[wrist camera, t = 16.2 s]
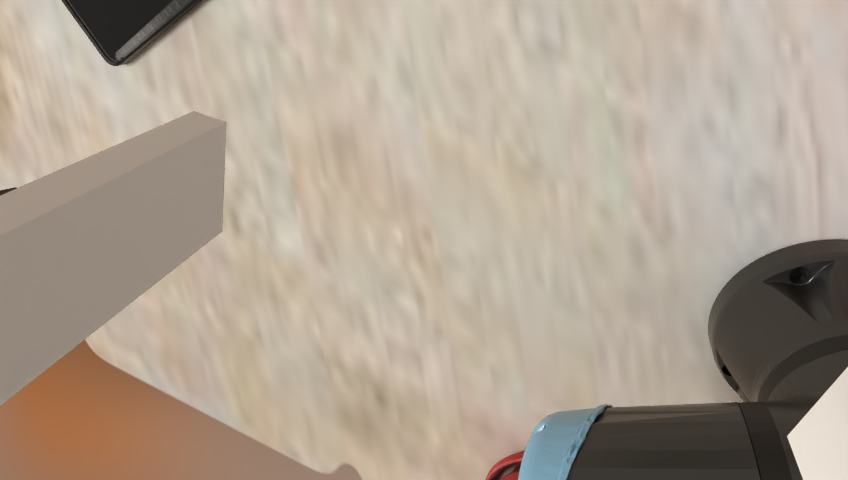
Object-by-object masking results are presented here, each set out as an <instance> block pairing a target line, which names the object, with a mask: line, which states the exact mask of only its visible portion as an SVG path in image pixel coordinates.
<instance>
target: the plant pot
mask: <svg viewBox="0 0 848 480" xmlns="http://www.w3.org/2000/svg"><path fill="white" fill-rule="evenodd" d="M523 455H524V452H523V453H517V454H513V455H510V456H508V457H506V458H504V459H502V460H501V461H499V462H498V463H496V464H495V465H494V466H493V468H492V469H491V470H490V472H489V473H488V475H487V478H486V480H518V477H519V472H520V467H521V462H522V459H523Z"/></svg>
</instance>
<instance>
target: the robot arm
mask: <svg viewBox="0 0 848 480" xmlns="http://www.w3.org/2000/svg"><path fill="white" fill-rule="evenodd" d="M225 144H226V122H224V121H221V120H218V119H215V118H212V117H209V116H206V115H203V114H200V113H197V112H191V113H189V114H187V115H184V116H182V117H180V118H177V119H175V120H173V121H171V122H168V123H166V124H164V125H161V126H159V127H157V128H154V129H152V130H150V131H148V132H145V133H143V134H141V135H138V136H136V137H134V138H131V139H129V140H127V141H125V142H122V143H120V144H118V145H115V146H113V147H111V148H109V149H106V150H104V151H102V152H99V153H97V154H95V155H92V156H90V157H88V158H86V159H83V160H81V161H79V162H76V163H74V164H72V165H69V166H67V167H65V168H63V169H60V170H58V171H56V172H53V173H51V174H49V175H46V176H44V177H42V178H40V179H37V180H35V181H33V182H30V183H28V184H26V185H24V186H21V187H19V188H16V187H15V188H10V189H6V190H1V191H0V405H1V404H3V403H4V402H5V401H6V400H8V399H9V398H10V397H12V396H13V395H14V394H16V393H17V392H18V391H19V390H21V389H22V388H23V387H24V386H26V385H27V384H28V383H30V382H31V381H32V380H33V379H35V378H36V377H37V376H38V375H40V374H41V373H42V372H44V371H45V370H46V369H47V368H49V367H50V366H51V365H53V364H54V363H55V362H56V361H58V360H59V359H60V358H61V357H63V356H64V355H65V354H67V353H68V352H69V351H70V350H72V349H73V348H74V347H75V346H77V345H78V344H79V343H80V342H82V341H83V340H84V339H86V338H87V337H88V336H90V335H91V334H92V333H93V332H95V331H96V330H97V329H98V328H100V327H101V326H102V325H104V324H105V323H106V322H107V321H109V320H110V319H111V318H112V317H114V316H115V315H116V314H118V313H119V312H120V311H121V310H123V309H124V308H125V307H126V306H128V305H129V304H130V303H132V302H133V301H134V300H135V299H137V298H138V297H139V296H140V295H142V294H143V293H144V292H146V291H147V290H148V289H149V288H151V287H152V286H153V285H155V284H156V283H157V282H158V281H160V280H161V279H162V278H163V277H165V276H166V275H167V274H169V273H170V272H171V271H172V270H174V269H175V268H176V267H177V266H179V265H180V264H181V263H183V262H184V261H185V260H186V259H188V258H189V257H190V256H191V255H193V254H194V253H195V252H197V251H198V250H199V249H200V248H202V247H203V246H204V245H205V244H207V243H208V242H209V241H211V240H212V239H213V238H214V237H216V236H217V235H218V234H220V233H221V232H222V223H223V196H224V170H225ZM708 333H709V340H710V344H711V348H712V351H713V355H714V359H715V361H716V364H717V366H718V368H719V370H720V372H721V374H722V375H723V377H724V378H725V380H726V381H727V382H728V384H729V385H730V386H731V387H732V388H733V389H734V390H735V391H736V392H737V393H738V395H739V396H740V397H741V398H742V399H743V401H744V402H742V403H738V402H735V403H710V404H685V405H661V406H636V407H612V405H606V404H605V405H600V406H598V407H597V408H594V409H583V410H573V411H562V412H556V413H553V414H551V415H549V416H547V417H546V418H544V419H543V420H542V421H541V422H540V423H539V424H538V425H537V427H536V428H535V429H534V431H533V433H532V435H531V438H530V440H529V441H528V443H527V446H526V449H525V452H524V455H523V459H522V462H521V467H520V472H519V477H518V480H848V240H823V241H813V242H807V243H801V244H797V245H793V246H789V247H786V248H783V249H780V250H777V251H774V252H772V253H770V254H767V255H765V256H763V257H761V258H759V259H757V260H756V261H754V262H752V263H751V264H749V265H748V266H746V267H745V268H743V269H742V270H741V271H739V272H738V273H737V274H736V275H735V276H734V277H733V278H732V279H731V280H730V281H729V282H728V283H727V284H726V285H725V286H724V288H723V289H722V290H721V292H720V293H719V295H718V296H717V298H716V300H715V302H714V304H713V307H712V309H711V313H710V317H709V324H708Z"/></svg>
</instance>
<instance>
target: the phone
mask: <svg viewBox="0 0 848 480" xmlns="http://www.w3.org/2000/svg"><path fill="white" fill-rule="evenodd" d="M201 1H202V0H62V2H63V3H64V5H65V6H66V7H67V9H68V10H69V11H70V13H71V14H72V16H73V17H74V18H75V20H76V21H77V22H78V24H79V25H80V27H81V28H82V29H83V31H84V32H85V33H86V35H87V36H88V38H89V39H90V40H91V42H92V43H93V45H94V46H95V47H96V49H97V50H98V51H99V53H100V54H101V56H102V57H103V58H104V60H105V61H106V62H107V63H109V64H110V65H113V66H119V65H123V64H125V63H127V62H128V61H129V60H131V59H132V58H133V57H134V56H135V55H137V54H138V53H139V52H140V51H142V50H143V49H144V48H145V47H146V46H148V45H149V44H150V43H151V42H152V41H154V40H155V39H156V38H157V37H158V36H160V35H161V34H162V33H163V32H164V31H166V30H167V29H168V28H169V27H170V26H172V25H173V24H174V23H175V22H177V21H178V20H179V19H180V18H181V17H183V16H184V15H185V14H186V13H187V12H189V11H190V10H191V9H192V8H193V7H195V6H196V5H197V4H198V3H199V2H201Z"/></svg>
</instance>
